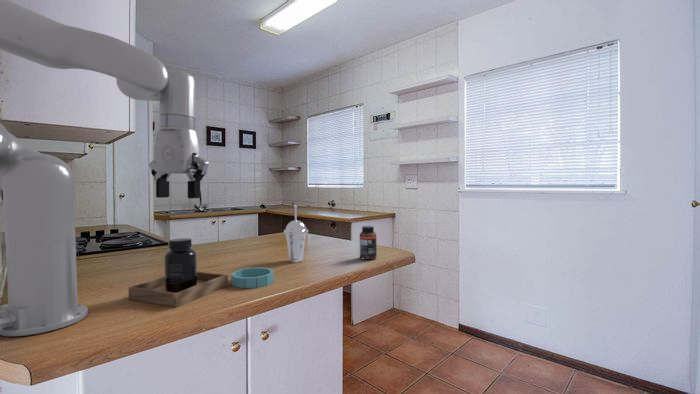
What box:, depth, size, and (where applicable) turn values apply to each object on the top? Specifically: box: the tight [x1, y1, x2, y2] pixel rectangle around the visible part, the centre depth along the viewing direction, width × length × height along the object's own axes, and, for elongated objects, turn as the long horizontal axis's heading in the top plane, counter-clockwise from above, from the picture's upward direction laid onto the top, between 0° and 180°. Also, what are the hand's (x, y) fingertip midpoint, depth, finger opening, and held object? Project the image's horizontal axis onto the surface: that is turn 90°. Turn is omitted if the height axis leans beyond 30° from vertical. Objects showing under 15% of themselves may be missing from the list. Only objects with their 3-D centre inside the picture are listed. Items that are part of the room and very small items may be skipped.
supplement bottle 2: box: [359, 225, 378, 259], centre depth 116 cm, size 6×6×11 cm
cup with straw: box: [282, 202, 309, 263], centre depth 111 cm, size 8×9×20 cm
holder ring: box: [230, 267, 275, 289], centre depth 88 cm, size 11×11×2 cm
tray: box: [127, 271, 229, 308], centre depth 79 cm, size 16×14×3 cm
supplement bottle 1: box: [164, 237, 198, 293], centre depth 79 cm, size 7×7×12 cm
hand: (178, 197), depth 78 cm, fingers open, 9 cm apart
